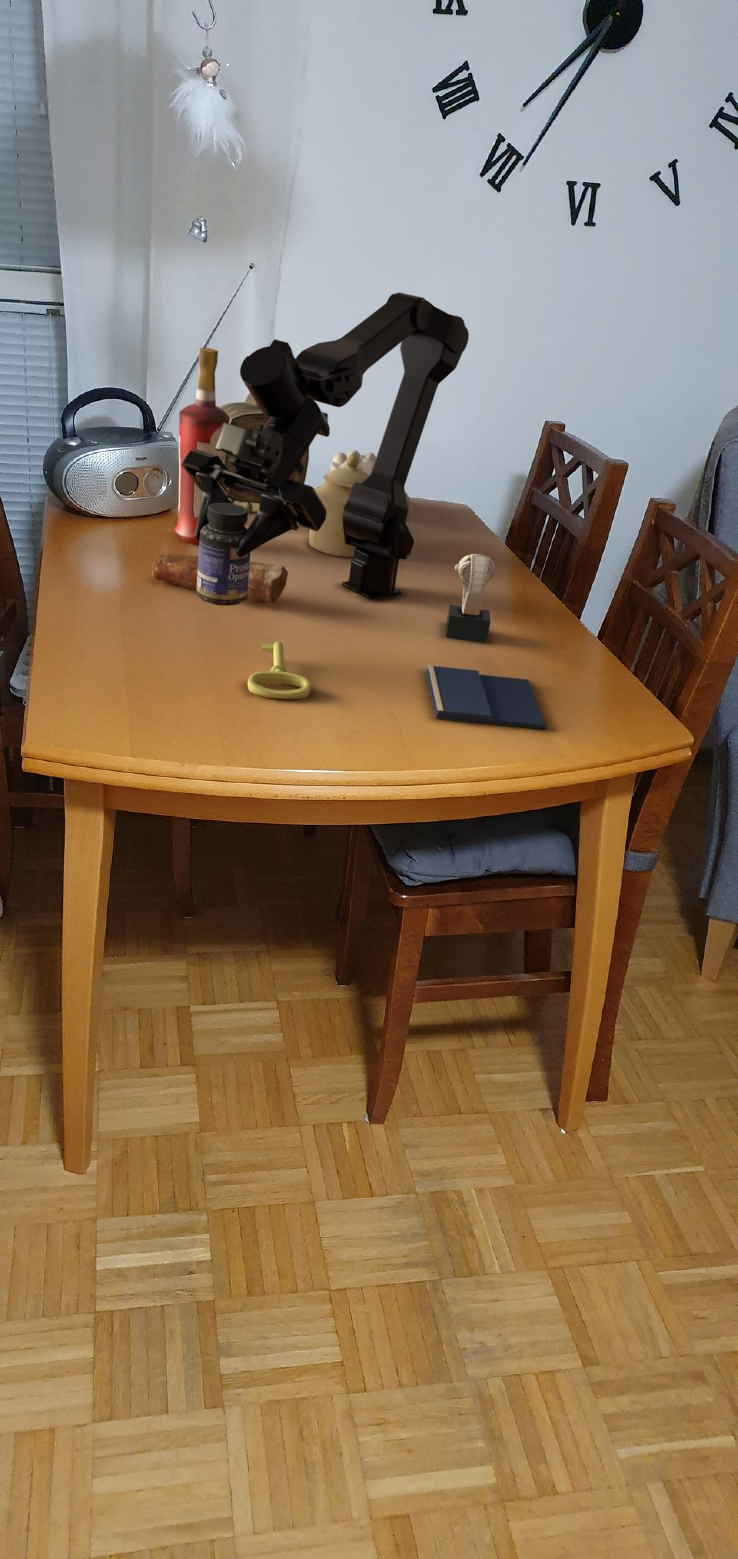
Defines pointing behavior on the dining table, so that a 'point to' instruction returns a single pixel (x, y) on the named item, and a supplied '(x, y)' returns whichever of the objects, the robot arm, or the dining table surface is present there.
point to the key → (278, 677)
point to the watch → (471, 600)
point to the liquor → (198, 441)
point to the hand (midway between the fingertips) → (217, 547)
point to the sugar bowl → (338, 508)
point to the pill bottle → (223, 556)
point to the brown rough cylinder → (184, 570)
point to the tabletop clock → (251, 419)
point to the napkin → (483, 698)
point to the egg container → (364, 465)
